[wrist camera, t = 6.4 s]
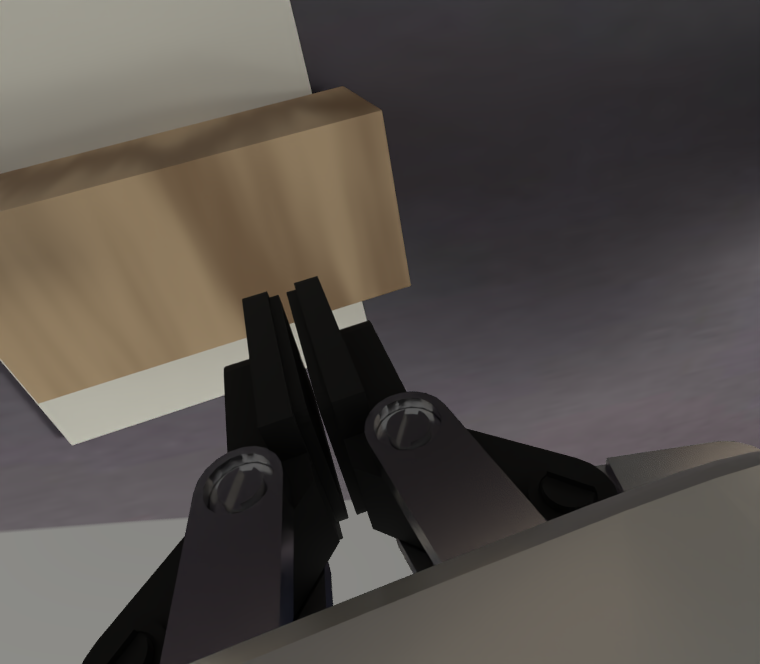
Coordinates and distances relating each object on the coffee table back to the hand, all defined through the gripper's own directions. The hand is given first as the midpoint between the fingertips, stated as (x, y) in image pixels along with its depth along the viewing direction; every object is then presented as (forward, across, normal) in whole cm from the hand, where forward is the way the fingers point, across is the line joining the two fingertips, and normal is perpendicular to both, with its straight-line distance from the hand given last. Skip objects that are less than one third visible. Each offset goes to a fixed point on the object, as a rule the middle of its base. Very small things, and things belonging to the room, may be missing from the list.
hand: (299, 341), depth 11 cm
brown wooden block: (+8, -4, 0) cm, 9 cm away
